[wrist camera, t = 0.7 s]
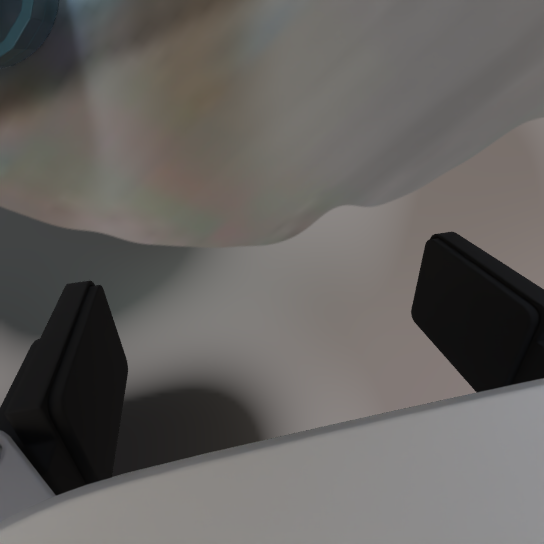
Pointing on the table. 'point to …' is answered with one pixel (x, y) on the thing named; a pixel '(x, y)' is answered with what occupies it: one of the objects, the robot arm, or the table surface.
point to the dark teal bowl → (24, 28)
